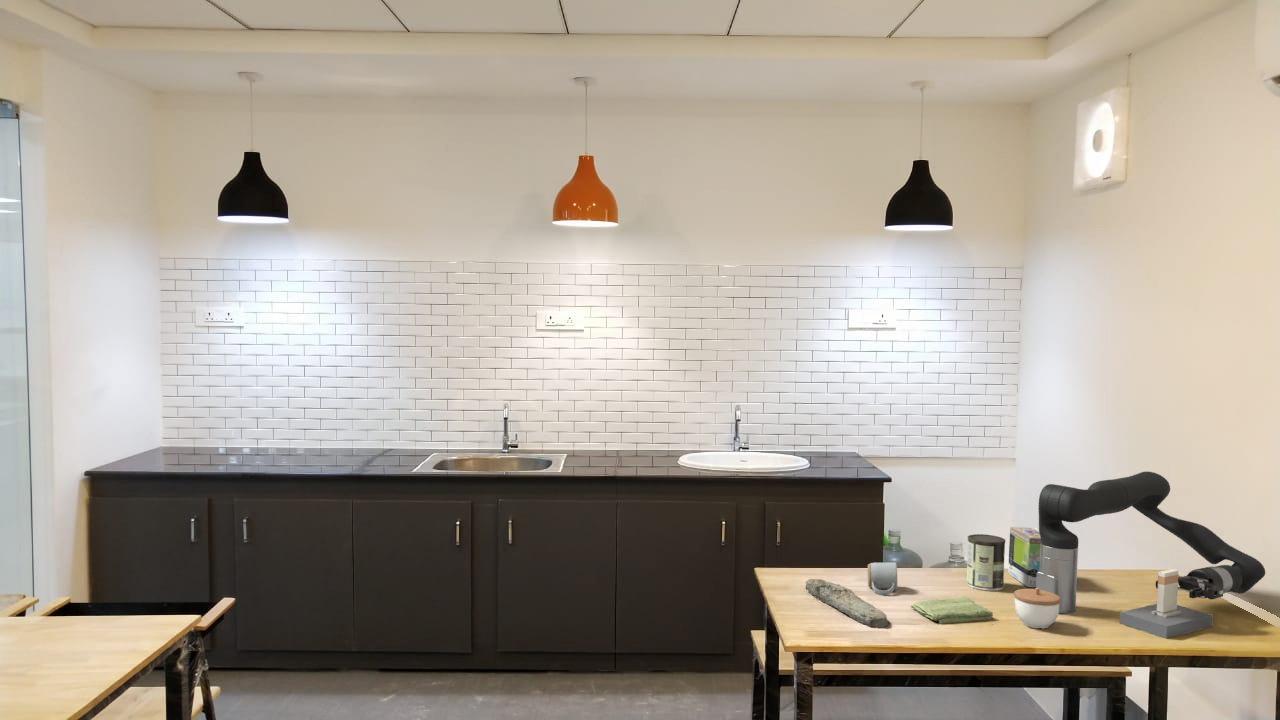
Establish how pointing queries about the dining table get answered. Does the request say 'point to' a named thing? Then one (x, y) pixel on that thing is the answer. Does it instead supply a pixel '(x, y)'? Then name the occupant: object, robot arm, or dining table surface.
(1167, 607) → the banded cream bar
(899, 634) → the dining table surface
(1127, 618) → the grey slotted block
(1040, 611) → the lidded jar
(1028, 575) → the green printed box
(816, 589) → the long grey stone
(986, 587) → the coffee can
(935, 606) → the washcloth
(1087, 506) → the robot arm
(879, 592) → the ceramic mug
